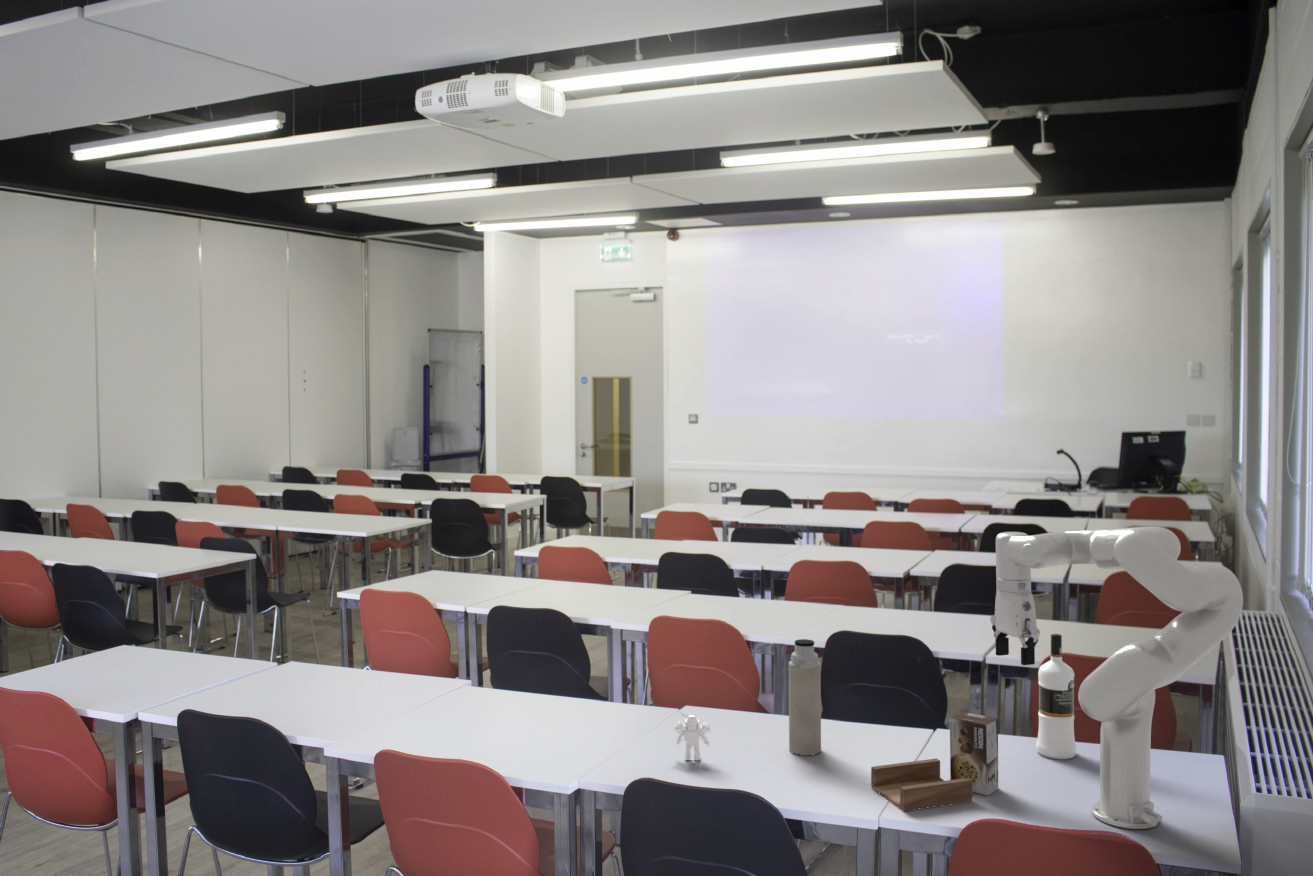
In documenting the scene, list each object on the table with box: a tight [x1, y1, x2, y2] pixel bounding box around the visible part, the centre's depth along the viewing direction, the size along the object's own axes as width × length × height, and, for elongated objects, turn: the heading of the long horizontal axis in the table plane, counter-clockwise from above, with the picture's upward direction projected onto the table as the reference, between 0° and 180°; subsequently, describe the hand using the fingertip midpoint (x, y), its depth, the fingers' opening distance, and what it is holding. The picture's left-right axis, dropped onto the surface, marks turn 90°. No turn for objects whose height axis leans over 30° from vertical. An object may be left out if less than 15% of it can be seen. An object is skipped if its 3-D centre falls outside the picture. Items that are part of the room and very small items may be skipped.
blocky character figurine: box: [673, 711, 712, 761], centre depth 242 cm, size 9×4×12 cm, turn 80°
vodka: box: [1035, 633, 1077, 761], centre depth 243 cm, size 9×9×30 cm
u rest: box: [870, 758, 973, 812], centre depth 218 cm, size 14×17×5 cm
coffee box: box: [948, 710, 999, 796], centre depth 222 cm, size 9×6×16 cm
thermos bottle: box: [788, 638, 822, 756], centre depth 247 cm, size 8×8×28 cm
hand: (1014, 659), depth 226 cm, fingers open, 9 cm apart
